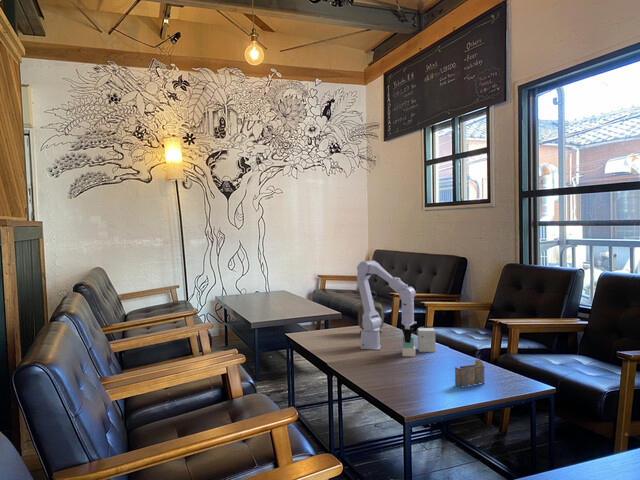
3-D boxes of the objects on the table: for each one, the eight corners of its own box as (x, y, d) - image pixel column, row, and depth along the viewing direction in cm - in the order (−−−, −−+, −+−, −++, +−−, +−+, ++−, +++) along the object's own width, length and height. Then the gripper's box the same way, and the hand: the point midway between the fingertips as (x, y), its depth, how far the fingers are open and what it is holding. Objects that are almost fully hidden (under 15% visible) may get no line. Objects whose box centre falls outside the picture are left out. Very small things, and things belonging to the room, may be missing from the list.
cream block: (402, 356, 215) (402, 348, 215) (402, 352, 221) (402, 344, 221) (415, 356, 214) (415, 348, 214) (414, 353, 220) (414, 345, 220)
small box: (433, 349, 226) (433, 328, 226) (435, 352, 221) (435, 330, 220) (417, 348, 227) (417, 327, 227) (418, 351, 221) (418, 330, 221)
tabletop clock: (383, 332, 261) (382, 289, 260) (384, 336, 252) (383, 292, 251) (358, 332, 262) (357, 289, 261) (357, 336, 253) (357, 291, 252)
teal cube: (402, 347, 215) (402, 337, 215) (403, 345, 220) (403, 334, 220) (413, 348, 214) (413, 337, 214) (414, 345, 219) (414, 335, 219)
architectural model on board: (479, 382, 179) (479, 358, 178) (484, 385, 176) (484, 360, 176) (454, 386, 175) (454, 361, 175) (459, 388, 172) (459, 363, 172)
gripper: (416, 315, 208) (416, 345, 209) (416, 309, 223) (416, 337, 223) (400, 315, 210) (400, 344, 210) (402, 309, 224) (402, 336, 225)
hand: (407, 340), depth 217 cm, fingers open, 6 cm apart
